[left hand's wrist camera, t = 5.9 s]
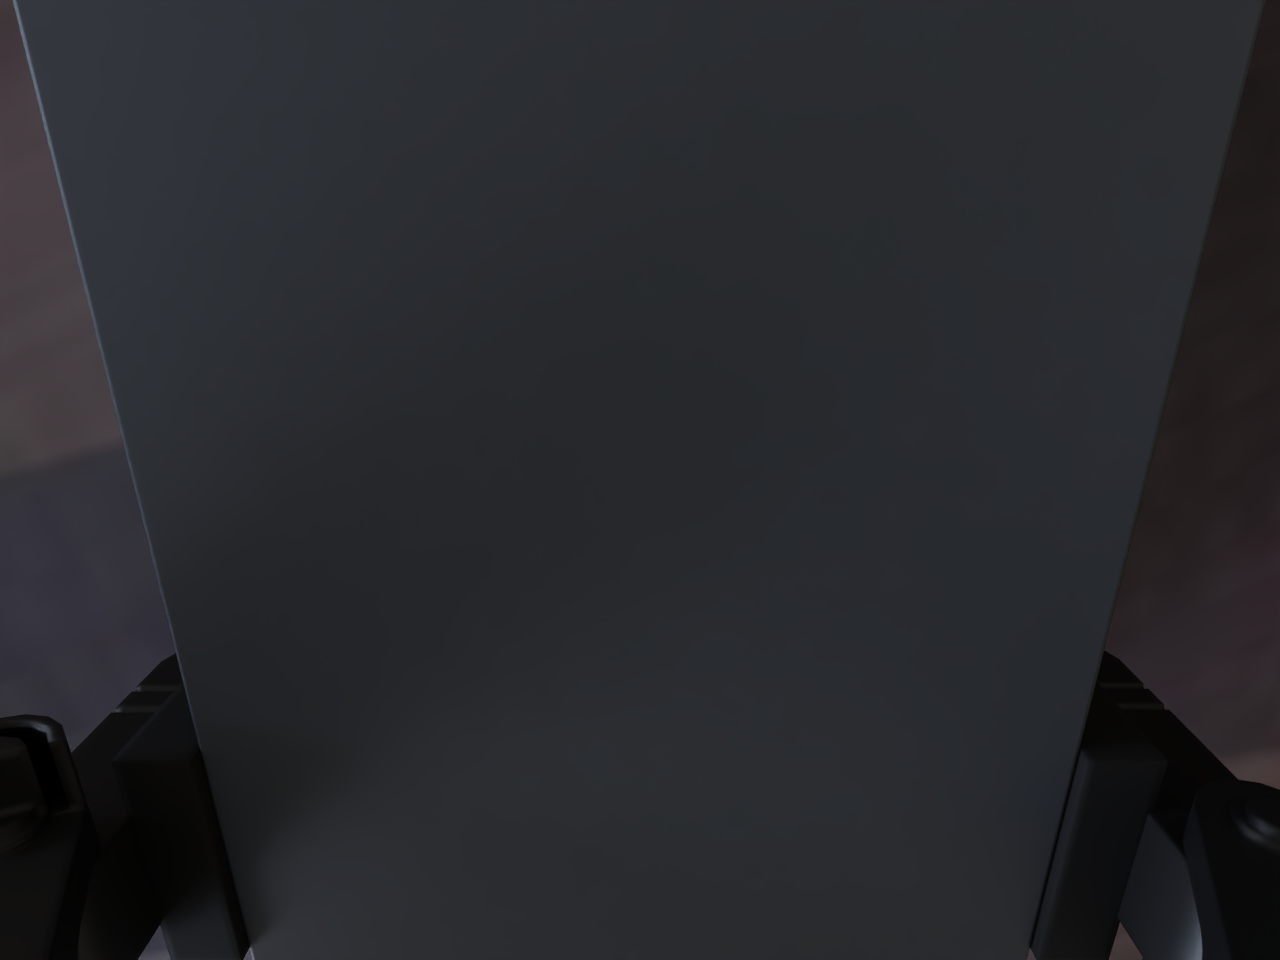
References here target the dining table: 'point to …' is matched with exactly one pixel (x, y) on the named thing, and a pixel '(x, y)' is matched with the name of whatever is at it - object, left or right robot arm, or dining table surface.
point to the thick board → (639, 442)
